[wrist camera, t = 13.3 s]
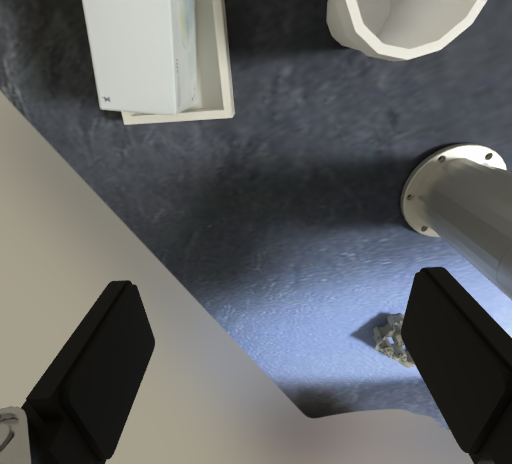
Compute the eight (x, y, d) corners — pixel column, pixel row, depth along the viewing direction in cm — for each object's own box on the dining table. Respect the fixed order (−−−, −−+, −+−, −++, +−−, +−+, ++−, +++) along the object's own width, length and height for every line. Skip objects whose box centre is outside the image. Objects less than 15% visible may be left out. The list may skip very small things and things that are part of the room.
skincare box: (200, 105, 32) (177, 117, 23) (142, 100, 32) (95, 110, 23) (198, -15, 27) (167, -62, 18) (130, -22, 27) (62, -72, 18)
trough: (217, -73, 26) (212, -93, 23) (234, 113, 33) (232, 117, 30) (91, -62, 26) (69, -80, 23) (136, 120, 34) (124, 124, 31)
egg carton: (437, 332, 51) (451, 352, 47) (404, 355, 54) (415, 375, 50) (397, 306, 48) (408, 325, 44) (364, 331, 51) (372, 351, 47)
